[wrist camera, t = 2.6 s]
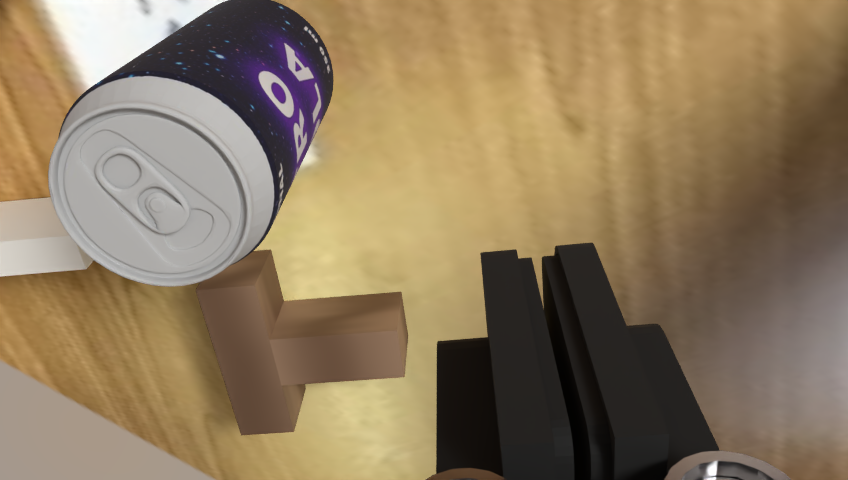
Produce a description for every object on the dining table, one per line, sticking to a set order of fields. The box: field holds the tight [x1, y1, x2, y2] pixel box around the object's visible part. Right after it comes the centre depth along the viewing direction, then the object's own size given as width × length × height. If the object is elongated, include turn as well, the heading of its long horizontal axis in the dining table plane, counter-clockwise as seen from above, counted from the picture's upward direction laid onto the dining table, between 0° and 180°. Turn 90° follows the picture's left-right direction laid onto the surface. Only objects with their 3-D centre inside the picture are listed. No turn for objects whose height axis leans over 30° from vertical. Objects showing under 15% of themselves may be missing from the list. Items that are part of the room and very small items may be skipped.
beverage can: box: [48, 0, 333, 287], centre depth 22 cm, size 6×6×12 cm
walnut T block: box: [196, 250, 408, 435], centre depth 32 cm, size 8×8×3 cm
